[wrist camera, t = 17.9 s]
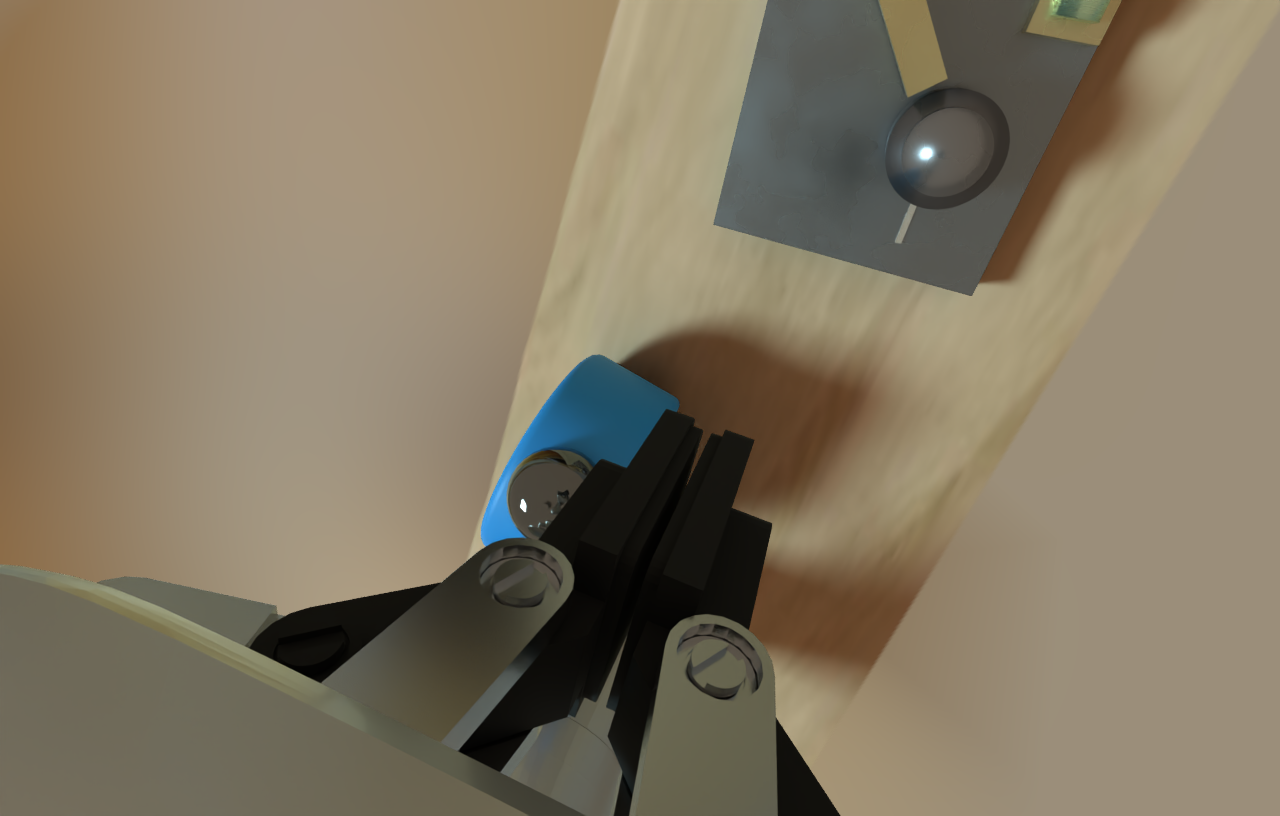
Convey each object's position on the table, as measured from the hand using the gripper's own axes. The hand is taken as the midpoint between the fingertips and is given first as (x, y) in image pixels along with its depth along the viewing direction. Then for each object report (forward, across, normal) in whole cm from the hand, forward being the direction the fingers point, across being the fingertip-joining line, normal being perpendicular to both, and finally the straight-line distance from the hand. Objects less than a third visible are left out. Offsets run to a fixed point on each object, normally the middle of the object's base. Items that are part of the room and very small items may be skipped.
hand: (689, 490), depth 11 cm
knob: (+22, -1, -9) cm, 24 cm away
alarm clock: (+26, +8, +15) cm, 31 cm away
